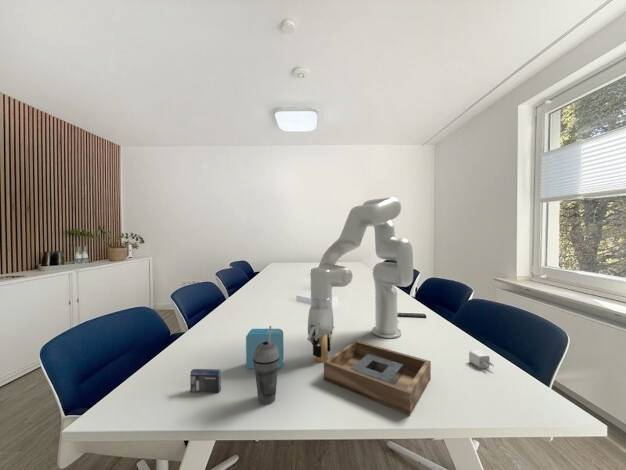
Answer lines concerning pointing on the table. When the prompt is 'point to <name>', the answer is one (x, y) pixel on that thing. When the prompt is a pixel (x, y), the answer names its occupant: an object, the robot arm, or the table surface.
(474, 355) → the usb wall charger
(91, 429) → the table surface
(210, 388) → the mini dv tape
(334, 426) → the table surface
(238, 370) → the table surface
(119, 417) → the table surface
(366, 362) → the bore plate
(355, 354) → the open box
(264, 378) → the beverage cup
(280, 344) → the data package
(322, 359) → the peg
